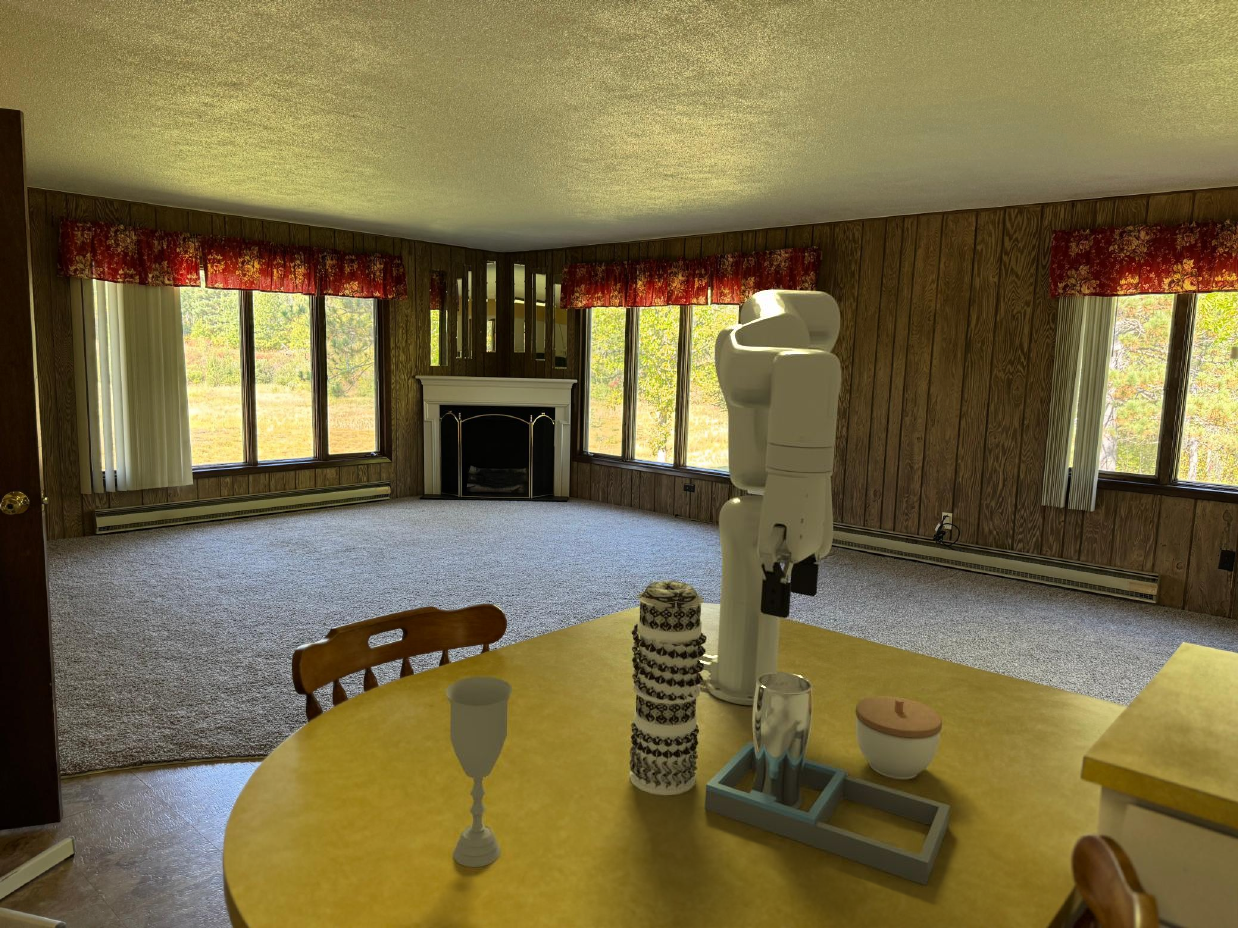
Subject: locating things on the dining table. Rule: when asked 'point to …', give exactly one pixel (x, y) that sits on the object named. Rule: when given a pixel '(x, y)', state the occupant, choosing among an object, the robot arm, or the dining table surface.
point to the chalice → (478, 755)
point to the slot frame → (813, 824)
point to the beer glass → (781, 734)
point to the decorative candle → (666, 688)
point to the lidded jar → (897, 735)
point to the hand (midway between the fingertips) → (789, 604)
